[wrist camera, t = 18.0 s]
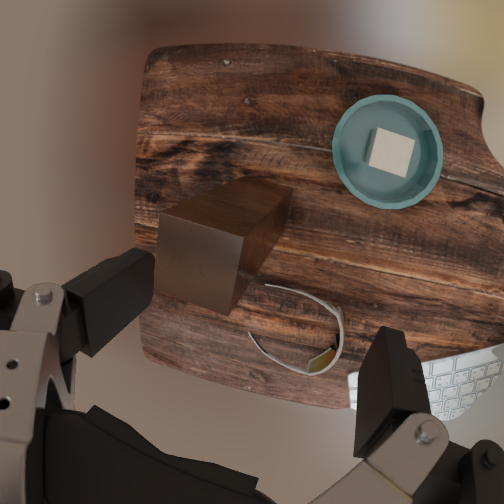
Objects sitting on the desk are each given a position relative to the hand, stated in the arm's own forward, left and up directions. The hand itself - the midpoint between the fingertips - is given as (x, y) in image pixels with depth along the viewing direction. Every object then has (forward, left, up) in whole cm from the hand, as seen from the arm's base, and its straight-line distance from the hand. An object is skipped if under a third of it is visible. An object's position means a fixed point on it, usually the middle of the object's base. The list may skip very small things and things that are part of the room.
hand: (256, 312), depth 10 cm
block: (-6, +7, -33) cm, 34 cm away
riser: (+6, -7, -34) cm, 35 cm away
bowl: (-6, +7, -34) cm, 35 cm away
